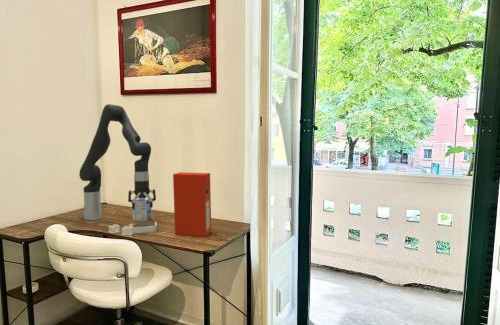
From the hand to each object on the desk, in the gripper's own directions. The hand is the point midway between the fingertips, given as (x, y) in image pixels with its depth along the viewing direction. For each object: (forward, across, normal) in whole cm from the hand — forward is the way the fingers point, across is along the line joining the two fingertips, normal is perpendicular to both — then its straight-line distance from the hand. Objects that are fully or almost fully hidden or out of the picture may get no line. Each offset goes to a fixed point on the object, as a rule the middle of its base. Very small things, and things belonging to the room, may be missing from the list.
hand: (142, 208), depth 181 cm
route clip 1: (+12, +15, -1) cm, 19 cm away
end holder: (+12, 0, 0) cm, 12 cm away
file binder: (+12, -25, +15) cm, 32 cm away
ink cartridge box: (+12, +1, -23) cm, 26 cm away
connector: (+12, 0, -2) cm, 12 cm away
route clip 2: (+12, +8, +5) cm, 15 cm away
